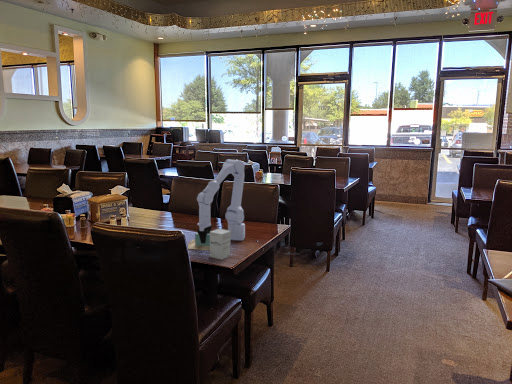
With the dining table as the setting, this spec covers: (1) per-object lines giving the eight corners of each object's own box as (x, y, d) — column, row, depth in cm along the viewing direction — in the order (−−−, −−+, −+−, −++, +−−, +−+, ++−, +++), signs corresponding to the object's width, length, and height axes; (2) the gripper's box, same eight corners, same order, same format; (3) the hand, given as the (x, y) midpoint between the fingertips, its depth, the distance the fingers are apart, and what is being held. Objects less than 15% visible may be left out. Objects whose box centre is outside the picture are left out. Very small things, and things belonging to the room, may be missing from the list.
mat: (221, 241, 203) (221, 240, 203) (215, 250, 187) (215, 250, 187) (192, 240, 205) (192, 239, 205) (184, 249, 189) (184, 248, 189)
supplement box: (209, 257, 178) (209, 231, 176) (218, 253, 184) (218, 228, 182) (221, 260, 174) (221, 233, 172) (230, 255, 180) (231, 230, 178)
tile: (214, 245, 195) (214, 234, 194) (214, 246, 194) (214, 234, 193) (195, 244, 196) (195, 233, 195) (195, 245, 195) (195, 233, 194)
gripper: (200, 212, 200) (200, 236, 202) (193, 218, 186) (193, 244, 188) (213, 212, 199) (213, 237, 201) (207, 219, 185) (207, 245, 187)
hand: (204, 241), depth 194 cm, fingers open, 7 cm apart
